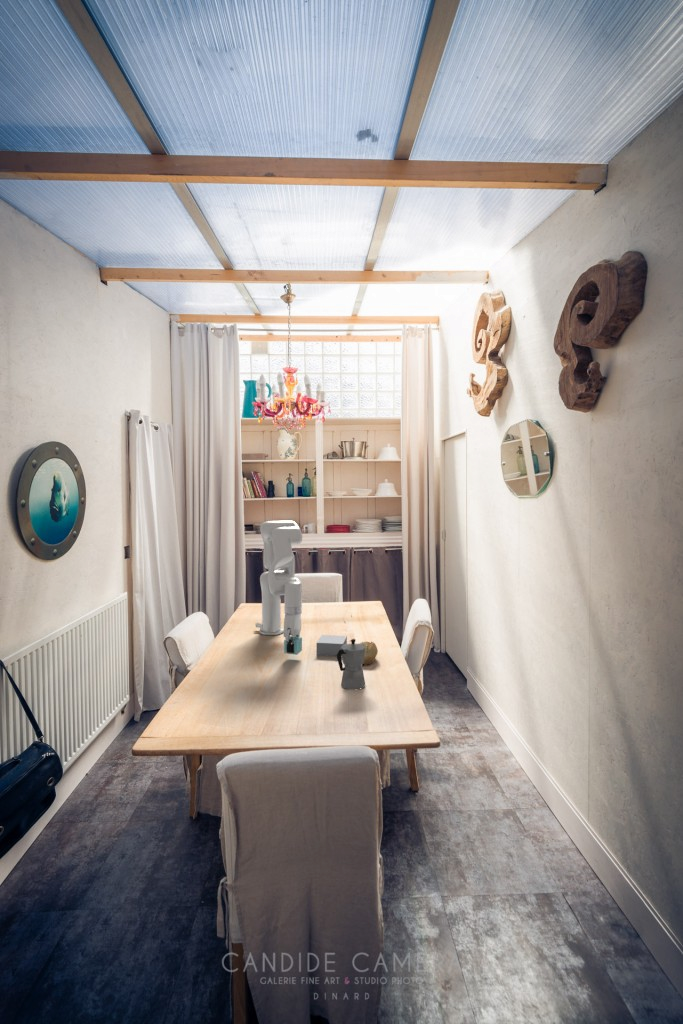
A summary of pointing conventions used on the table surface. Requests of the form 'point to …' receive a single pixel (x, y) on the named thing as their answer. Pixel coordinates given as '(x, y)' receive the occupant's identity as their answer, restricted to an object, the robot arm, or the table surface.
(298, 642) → the teal cube
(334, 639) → the gray block
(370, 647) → the bread roll
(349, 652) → the coffeepot
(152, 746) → the table surface
